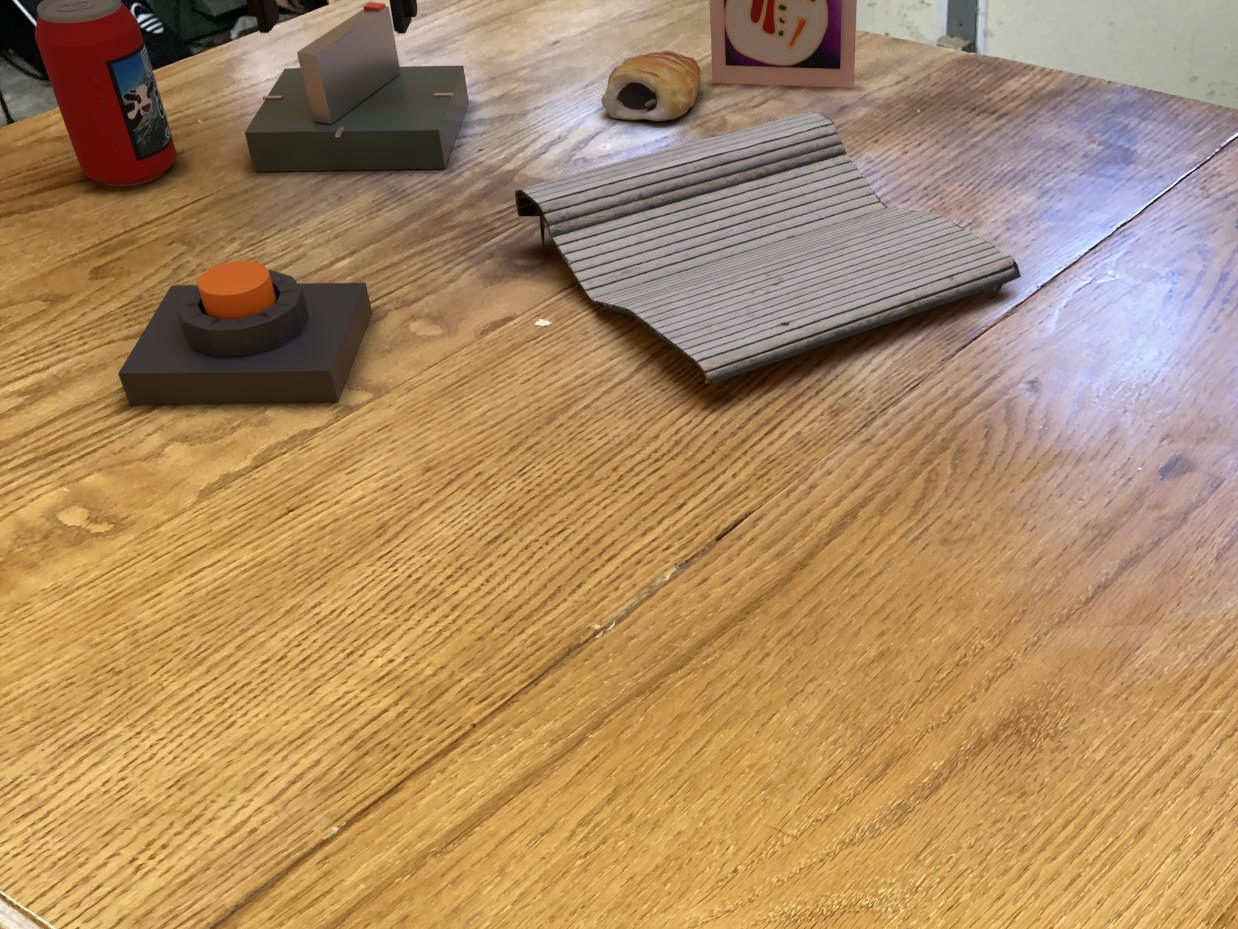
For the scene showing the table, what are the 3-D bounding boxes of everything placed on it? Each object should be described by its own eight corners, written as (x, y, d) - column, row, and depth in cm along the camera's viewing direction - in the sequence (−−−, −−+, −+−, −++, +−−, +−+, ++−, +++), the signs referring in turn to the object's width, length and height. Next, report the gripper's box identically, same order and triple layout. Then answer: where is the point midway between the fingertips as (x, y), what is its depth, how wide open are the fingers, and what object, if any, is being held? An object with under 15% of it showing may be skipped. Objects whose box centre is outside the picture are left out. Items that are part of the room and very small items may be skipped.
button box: (129, 406, 82) (107, 345, 79) (181, 316, 89) (162, 258, 86) (338, 403, 81) (323, 342, 79) (372, 313, 89) (359, 255, 86)
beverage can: (184, 182, 103) (134, 11, 95) (86, 199, 101) (26, 27, 93) (176, 145, 108) (127, -20, 100) (82, 161, 106) (24, -6, 98)
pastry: (643, 73, 117) (640, 26, 114) (721, 84, 115) (720, 36, 112) (597, 119, 110) (593, 69, 108) (679, 130, 108) (677, 80, 106)
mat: (707, 413, 80) (704, 340, 77) (519, 249, 95) (510, 182, 92) (1021, 294, 89) (1029, 224, 86) (805, 162, 104) (805, 98, 101)
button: (196, 322, 81) (188, 295, 80) (216, 287, 84) (208, 260, 83) (266, 321, 81) (258, 294, 80) (283, 286, 84) (276, 259, 83)
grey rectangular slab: (331, 124, 103) (315, 51, 99) (312, 121, 103) (295, 48, 100) (401, 73, 110) (388, 2, 106) (382, 70, 110) (369, 0, 107)
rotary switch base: (249, 179, 103) (237, 136, 101) (295, 100, 114) (285, 60, 112) (444, 176, 103) (437, 133, 101) (472, 97, 114) (466, 57, 112)
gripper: (132, -234, 89) (202, 45, 100) (410, -233, 89) (448, 46, 100) (169, -259, 94) (231, 8, 106) (430, -258, 94) (464, 9, 106)
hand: (336, 26), depth 103 cm, fingers open, 9 cm apart
